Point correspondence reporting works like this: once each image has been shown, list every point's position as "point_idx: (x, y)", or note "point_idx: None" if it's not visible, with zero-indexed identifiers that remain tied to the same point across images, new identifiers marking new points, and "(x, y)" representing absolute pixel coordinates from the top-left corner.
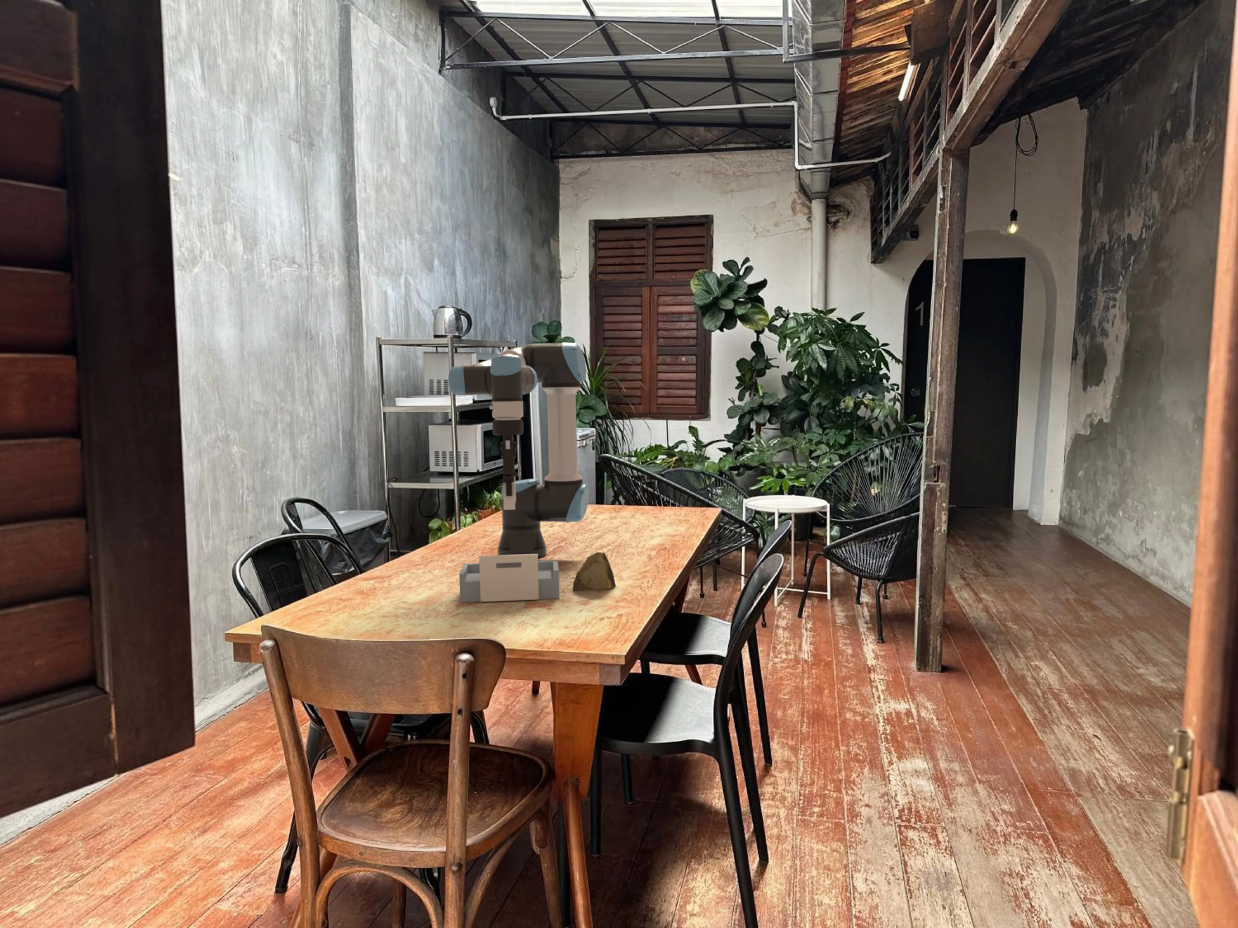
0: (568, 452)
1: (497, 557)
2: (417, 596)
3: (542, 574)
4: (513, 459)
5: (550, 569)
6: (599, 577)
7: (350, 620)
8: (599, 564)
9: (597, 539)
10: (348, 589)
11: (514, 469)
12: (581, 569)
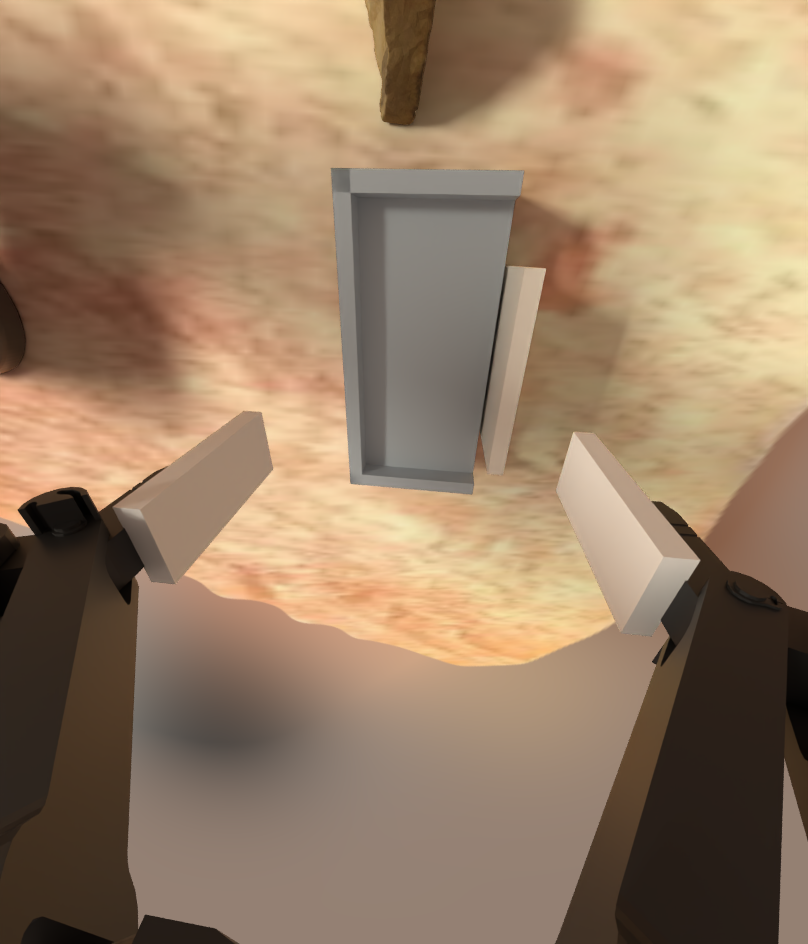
0: None
1: (513, 422)
2: (400, 528)
3: (439, 246)
4: (662, 934)
5: (363, 209)
6: None
7: (534, 605)
8: None
9: None
10: (333, 611)
11: (36, 564)
12: (405, 40)
